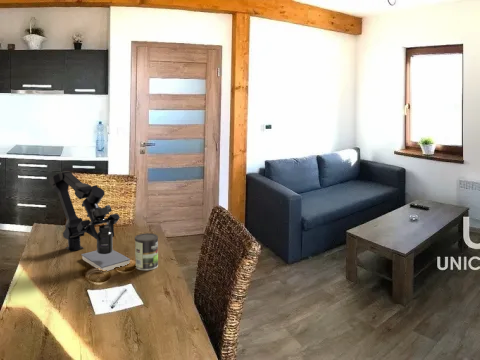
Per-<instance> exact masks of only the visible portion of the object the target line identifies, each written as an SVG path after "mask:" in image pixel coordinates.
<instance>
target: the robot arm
mask: <svg viewBox="0 0 480 360" xmlns="http://www.w3.org/2000/svg"><path fill="white" fill-rule="evenodd" d="M48 182H49V185H50V187H51V188H52V190H53V191H54V192H55V193H57V195H58V198H59V201H60V204H61V207H62V211H63V213H64V216H65V219H66V220H65V221H66V222H65V226H64V227H65V229H64V231H63V232H62V237H63V239H66V240H67V245H68V246H65V249H66V250H68V251H69V252H75V251H79V250H83V249H84V246H82V245H81V238H82V237H84V236H85V234H88V235H90V236H91V237H93V238H94V239H95V240H96V241H97V240H98V241H99V240H100V238H99V236H98V234H97V233H98V232H97V230H96V227H95V226H99V225H104V224H106V225H109V226H110V231H111V232H112V234H113V238H114V237H115V231H114V227H115V226H114V225H115V224H116V223H117V222H118V221H119V220H120V218H121V216H120V215H119V214H118V213H113V214H110V213H111V212H112V211H113V210H112V206H111V205H110V204H108V205H105V206H104V207H101V206H99V205H98V204H99V203H100V202H101V201H102V199H103V197H104V196H105V194H106V193H105V191H104V190H103V189H102V188H101V187H98V185H90V184H88V183H84V182H82V181H81V180H80V179H79V178H78V177H76V176H75V175H74V174H73V173H72V171H69V170H67V171H61V172H59V173H58V174H56V175H52V176H51V177H50V178H49V180H48ZM69 187H70V188H71V189H72V190H73V191H74V195H75V196H76V198H77V199H78V200H82V203H81V207H84V209H85V211H86V213H87V214H86V216H87V218H89V219H84V220H83V218H81V217H78V216H77V213H76V211H75V208H74V204H73V201H72V199H71V197H70V193H69ZM107 215H109V216H108V217H107Z"/></svg>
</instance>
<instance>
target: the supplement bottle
mask: <svg viewBox="0 0 480 360" xmlns="http://www.w3.org/2000/svg"><path fill="white" fill-rule="evenodd" d="M98 226H99V227H98V232H97V234H98V236H99V238H100V240H99V241H98V240H97V239H96V250H97V252H98V253H99V254H109V253H111V252H112V250H114V249H113V248H114V247H113V244H114V243H113V241H114V240H113V239H114V237H113V234H112V232H111V231H110V226H109V225H107V224H100V225H98Z"/></svg>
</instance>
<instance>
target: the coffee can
mask: <svg viewBox="0 0 480 360" xmlns="http://www.w3.org/2000/svg"><path fill="white" fill-rule="evenodd" d="M134 243H135V245H134V246H135V247H134V248H135V249H134V251H135V253H134V256H135V258H134V259H135V266H136V267H135V269H137V270H139V271H151V270H155V269H157V268H158V267H159V236H158V235H157V234H155V233H140V234H137V235H135V236H134Z"/></svg>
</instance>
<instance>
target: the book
mask: <svg viewBox="0 0 480 360" xmlns="http://www.w3.org/2000/svg"><path fill="white" fill-rule="evenodd" d="M80 255H81V257H82V261H84V262H86V263H88V264H89V265H90V266H92V267H94V268H96V269H97V268H100V269H102V270H107V271H106V272H108V271H111V270H115V269H114V268H115V267H119V268H121V267H120V266H122V267H125V265H126V266H128V265H127V264H129V263H130V264H131V258H129V257H127V256H125V255H124V254H122V253H120V252H118V251H116V250H114V249H113V250H112V252H111V253H109V254H99V253H98V252H97V249H96V250H93V251H89V252H85V253H81V254H80ZM130 264H129V265H130Z"/></svg>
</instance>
